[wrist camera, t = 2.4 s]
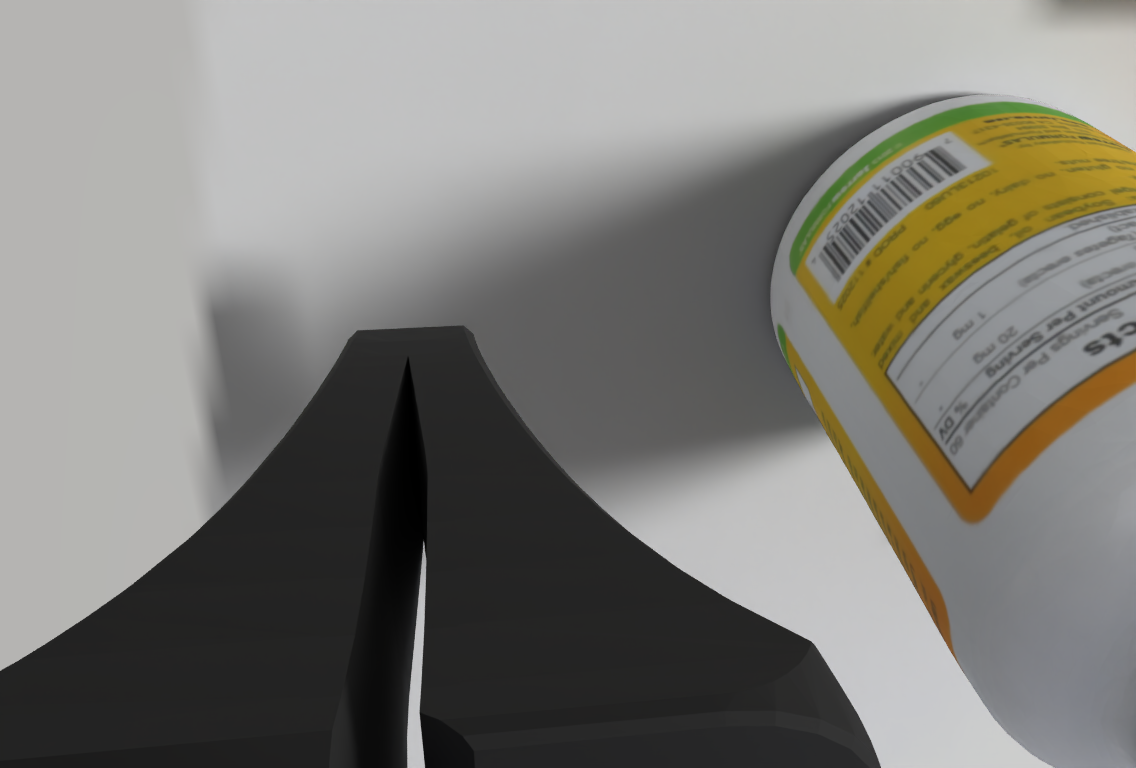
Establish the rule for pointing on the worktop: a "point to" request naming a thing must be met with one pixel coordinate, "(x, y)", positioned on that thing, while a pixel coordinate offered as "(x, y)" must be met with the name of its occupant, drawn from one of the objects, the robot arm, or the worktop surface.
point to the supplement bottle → (988, 394)
